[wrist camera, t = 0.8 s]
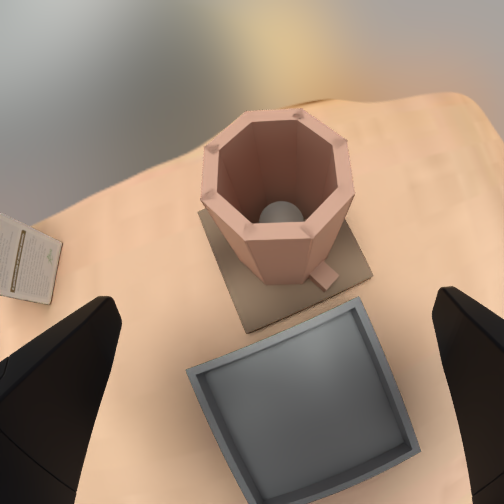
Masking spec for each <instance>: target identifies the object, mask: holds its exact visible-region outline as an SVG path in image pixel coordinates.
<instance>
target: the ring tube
mask: <svg viewBox="0 0 504 504" xmlns="http://www.w3.org/2000/svg"><path fill="white" fill-rule="evenodd" d="M354 195H355V191H354V184H353V176H352V170H351V163H350V157H349V150H348V144H347V139H345V138H343V137H342V136H341V135H339V134H338V133H337V132H335V131H334V130H332V129H331V128H330V127H328V126H327V125H325V124H324V123H322V122H321V121H320V120H318V119H317V118H315V117H314V116H312V115H311V114H309V113H308V112H306V111H305V110H303V108H300V109H275V110H259V111H245V112H244V113H243V114H242V115H241V116H239V117H238V118H237V119H236V120H235V121H233V122H232V123H231V124H230V125H229V126H227V127H226V128H225V129H224V130H223V131H222V132H220V133H219V134H218V135H217V136H216V137H215V138H213V139H212V140H211V141H210V142H209V143H208V144H207V145H205V146H204V157H203V170H202V185H201V198H200V200H201V202H202V203H203V205H204V206H205V208H206V209H207V211H208V213H209V214H210V216H211V217H212V219H213V220H214V222H215V223H216V225H217V226H218V228H219V229H220V231H221V232H222V234H223V235H224V237H225V239H226V240H227V242H228V243H229V245H230V246H231V248H232V249H233V251H234V252H235V254H236V255H237V257H238V258H239V260H240V261H241V262H242V263H243V264H244V265H245V266H246V267H248V268H249V269H250V270H251V271H252V272H253V273H254V274H255V275H256V276H257V277H258V278H259V279H260V280H261V281H262V282H263V283H264V284H265V285H289V284H303V283H304V282H305V281H306V280H307V279H308V278H309V279H310V280H311V281H312V282H313V283H314V284H316V285H317V286H318V287H319V288H320V289H321V290H322V291H323V292H325V291H326V290H327V289H328V288H329V287H330V286H331V285H332V284H333V282H334V281H335V280H336V279H337V278H338V277H339V275H338V274H337V273H336V272H335V271H334V270H333V269H332V268H331V267H330V266H329V265H327V264H326V263H325V262H324V260H325V259H327V257H328V255H329V252H330V250H331V248H332V246H333V244H334V241H335V239H336V237H337V235H338V232H339V230H340V228H341V226H342V223H343V221H344V219H345V216H346V214H347V212H348V209H349V207H350V205H351V202H352V200H353V198H354ZM277 201H286V202H289V203H292V204H294V205H295V206H296V207H297V208H298V209H299V210H300V211H301V213H302V216H303V217H304V218H305V219H306V221H305V222H282V223H257V222H258V221H259V219H260V215H261V213H262V211H263V210H264V209H265V207H267V206H268V205H269V204H271V203H274V202H277Z"/></svg>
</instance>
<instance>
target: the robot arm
mask: <svg viewBox="0 0 504 504" xmlns="http://www.w3.org/2000/svg"><path fill="white" fill-rule="evenodd" d="M432 320H433V324H434V329H435V333H436V337H437V342H438V347H439V351H440V356H441V361H442V365H443V369H444V373H445V376H446V379H447V383H448V386H449V390H450V393H451V397H452V401H453V404H454V408H455V412H456V416H457V420H458V424H459V429H460V433H461V437H462V442H463V447H464V452H465V457H466V462H467V468H468V473H469V479H470V486H471V493H472V502H473V504H504V319H502V318H501V317H499V316H498V315H496V314H495V313H494V312H492V311H491V310H489V309H488V308H486V307H485V306H483V305H482V304H480V303H479V302H477V301H476V300H474V299H472V298H471V297H469V296H468V295H466V294H465V293H463V292H462V291H460V290H458V289H457V288H455V287H453V286H449V287H441V288H440V289H439V291H438V294H437V297H436V300H435V304H434V307H433V311H432ZM121 327H122V320H121V316H120V314H119V311H118V309H117V307H116V304H115V301H114V299H113V298H112V297H110V296H98V297H97V298H95V299H93V300H92V301H90V302H89V303H87V304H86V305H84V306H83V307H81V308H79V309H78V310H76V311H75V312H73V313H72V314H70V315H69V316H67V317H66V318H64V319H63V320H61V321H60V322H58V323H57V324H55V325H54V326H52V327H51V328H49V329H48V330H46V331H45V332H43V333H42V334H40V335H39V336H37V337H36V338H34V339H33V340H31V341H30V342H28V343H27V344H26V345H24V346H23V347H21V348H20V349H18V350H17V351H15V352H14V353H13V354H11V355H10V356H9V357H7V358H5V359H4V360H2V361H1V362H0V504H74V502H75V498H76V492H77V488H78V484H79V479H80V475H81V471H82V467H83V463H84V459H85V456H86V452H87V448H88V444H89V441H90V437H91V434H92V430H93V427H94V423H95V420H96V417H97V413H98V410H99V407H100V403H101V400H102V397H103V394H104V391H105V388H106V385H107V381H108V378H109V375H110V372H111V368H112V365H113V360H114V356H115V352H116V347H117V343H118V339H119V335H120V331H121Z"/></svg>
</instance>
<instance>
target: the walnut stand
mask: <svg viewBox="0 0 504 504" xmlns="http://www.w3.org/2000/svg"><path fill="white" fill-rule="evenodd" d="M198 214H199V217H200V220H201V222H202V225H203V228H204V230H205V233H206V235H207V238H208V240H209V243H210V246H211V248H212V251H213V253H214V256H215V258H216V261H217V263H218V266H219V268H220V271H221V273H222V276H223V278H224V281H225V283H226V286H227V288H228V291H229V293H230V296H231V298H232V301H233V303H234V305H235V308H236V310H237V313H238V315H239V318H240V320H241V322H242V325H243V327H244V330H245V332H246V334H248V333H251V332H253V331H256V330H258V329H260V328H263V327H265V326H267V325H270V324H272V323H274V322H277V321H279V320H281V319H284V318H286V317H288V316H290V315H293V314H295V313H297V312H300V311H302V310H304V309H306V308H308V307H311V306H313V305H315V304H317V303H319V302H322V301H324V300H326V299H328V298H330V297H332V296H334V295H337V294H339V293H341V292H343V291H345V290H347V289H349V288H351V287H353V286H355V285H357V284H359V283H361V282H363V281H366V280H368V279H370V278H371V277H372V276H373V274H372V271H371V269H370V267H369V265H368V263H367V261H366V259H365V257H364V255H363V253H362V251H361V249H360V247H359V245H358V243H357V241H356V239H355V237H354V235H353V233H352V231H351V229H350V228H349V226H348V224H347V222H346V220H345V219H344V221H343V223H342V226H341V228H340V230H339V232H338V235H337V237H336V239H335V241H334V244H333V246H332V248H331V250H330V252H329V255H328V257H327V259H325V260H324V262H325V263H326V264H327V265H329V266H330V267H331V268H332V269H333V270H334V271H335V272H336V273H337V274H338V275H339V277H338V278H337V279H336V280H335V281H334V282H333V284H332V285H331V286H330V287H329V288H328V289H327V290H326V291H325V292H323V291H322V290H321V289H320V288H319V287H318V286H317V285H316V284H314V283H313V282H312V281H311V280H310V279H309V278H308V279H307V280H306V281H305V282H304V283H303V284H289V285H265V284H264V283H263V282H262V281H261V280H260V279H259V278H258V277H257V276H256V275H255V274H254V273H253V272H252V271H251V270H250V269H249V268H248V267H246V266H245V265H244V264H243V263H242V262H241V261H240V260H239V258H238V257H237V255H236V254H235V252H234V251H233V249H232V248H231V246H230V245H229V243H228V242H227V240H226V239H225V237H224V235H223V234H222V232H221V231H220V229H219V228H218V226H217V225H216V223H215V222H214V220H213V219H212V217H211V216H210V214H209V213H208V211H207V209H206V208H205V209H203V210H201V211H199V212H198ZM305 221H306V219H305V218H304V217H303V216H302V213H301V211H300V210H299V209H298V208H297V207H296V206H295V205H294V204H292V203H289V202H286V201H277V202H274V203H271V204H269V205H268V206H267V207H265V209H264V210H263V211H262V213H261V215H260V219H259V221H258V222H257V223H282V222H305Z"/></svg>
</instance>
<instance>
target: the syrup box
mask: <svg viewBox="0 0 504 504" xmlns="http://www.w3.org/2000/svg"><path fill="white" fill-rule="evenodd" d="M61 246H62V242H60V241H59V240H56V239H54V238H52V237H50V236H48V235H46V234H44V233H42V232H40V231H38V230H36V229H34V228H32V227H30V226H27V225H25V224H23V223H21V222H19V221H17V220H15V219H13V218H11V217H9V216H7V215H5V214H3V213H1V212H0V296H5V297H10V298H15V299H20V300H25V301H30V302H35V303H41V304H47V305H48V304H50V302H51V297H52V293H53V288H54V282H55V277H56V271H57V266H58V261H59V256H60V252H61Z"/></svg>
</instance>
